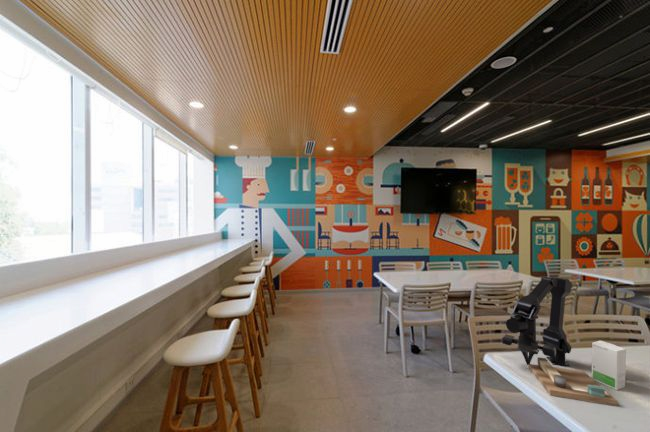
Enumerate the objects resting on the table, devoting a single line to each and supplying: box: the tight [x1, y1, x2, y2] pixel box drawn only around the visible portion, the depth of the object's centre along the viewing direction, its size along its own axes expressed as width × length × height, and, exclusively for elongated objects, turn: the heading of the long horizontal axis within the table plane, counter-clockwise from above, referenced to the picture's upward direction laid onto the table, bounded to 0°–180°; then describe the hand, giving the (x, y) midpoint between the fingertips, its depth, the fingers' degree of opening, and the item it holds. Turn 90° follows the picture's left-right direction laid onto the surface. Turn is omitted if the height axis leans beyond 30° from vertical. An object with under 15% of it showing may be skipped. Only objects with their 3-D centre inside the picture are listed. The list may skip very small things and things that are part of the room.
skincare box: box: [590, 339, 627, 391], centre depth 112 cm, size 8×7×16 cm
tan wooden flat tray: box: [528, 363, 618, 407], centre depth 111 cm, size 20×20×5 cm
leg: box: [537, 357, 566, 388], centre depth 114 cm, size 18×4×3 cm, turn 162°
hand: (528, 364), depth 121 cm, fingers closed
